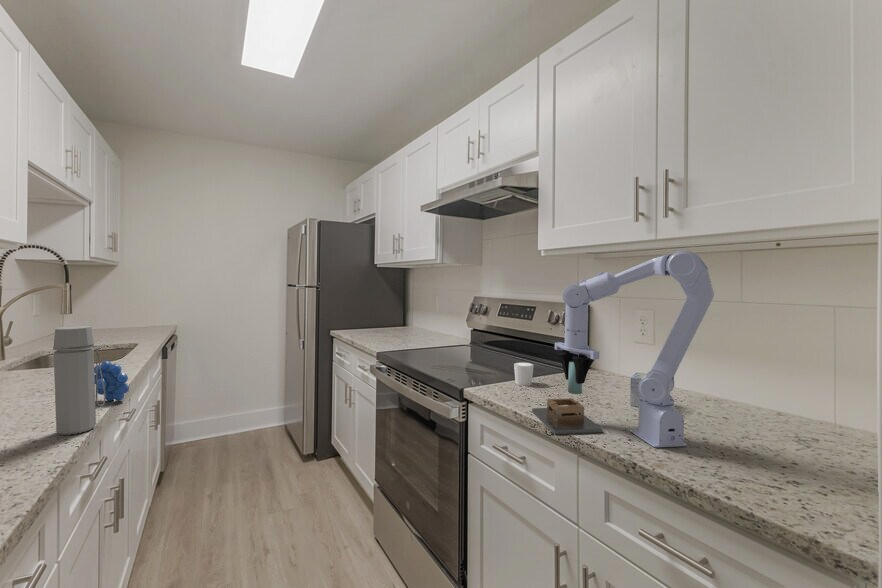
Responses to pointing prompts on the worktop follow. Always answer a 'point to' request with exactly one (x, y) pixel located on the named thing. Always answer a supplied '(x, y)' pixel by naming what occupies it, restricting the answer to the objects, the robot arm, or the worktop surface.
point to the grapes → (111, 381)
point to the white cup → (523, 373)
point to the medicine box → (635, 388)
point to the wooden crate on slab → (566, 417)
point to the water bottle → (75, 379)
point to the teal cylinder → (573, 380)
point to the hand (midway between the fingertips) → (574, 381)
